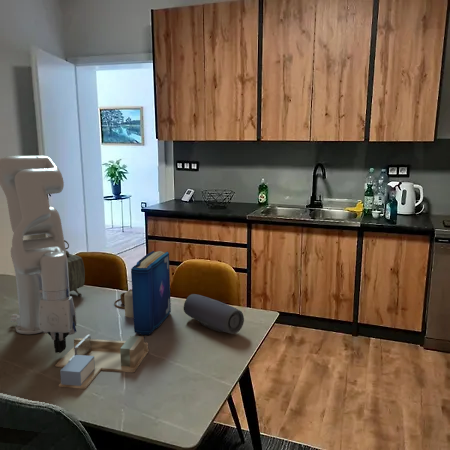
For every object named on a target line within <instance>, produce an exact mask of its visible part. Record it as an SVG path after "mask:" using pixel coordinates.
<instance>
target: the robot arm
mask: <svg viewBox="0 0 450 450" xmlns="http://www.w3.org/2000/svg"><path fill="white" fill-rule="evenodd" d="M64 183H65V182H64V177H63V175H62V172H61V170H60V169H59V167H58V166H57V165H56V163H55V161H53V160H52V158H51V157H49V156H48V155H41V154H39V155H36V154H35V155H9V156H3V157H0V188H1V189H2V191H3V194H4V195H5V198H6V201H7V202H6V203H7V208H8V215H9V220H10V226H11V227H10V228H11V230H12V232H13V235H12V239H11V248H10V257H11V261H12V264H13V268H14V274H15V281H16V283H15V284H16V291H17V302H18V313H19V314H17V313H12V314H11V316H10V322H13V323H15V322H16V323H17V324H16V325H15V331H16V332H17V334H21V335H34V334H40V333H44V334H48V336H49V337H51V340H52V341H53V347H54V351H55V353H57V354H61V353H63V351H64V350H66V348H67V343H66V342H67V341H66V340H67V337H68V336H70V335H75V334H76V333H77V328H76V327H77V313H76V308H75V303H74V299H73V296H71V294H70V293H71V292H70V291H69V276H68V261H67V256H66V251H67V249H65V248H66V242H64V240H65V238H64V231H63V226H62V219H61V216H60V213H59V211H58V209H57V208H55V207H53V206H50V203H49V198H48V195H53V194H60V193H62V191H63V190H64V186H65V184H64ZM44 234H46V235H47V236H46V237H45V236H44V237H39V238H38V237H37V238H31V239H30V238H29V239H24V237H26V236H36V235H44Z"/></svg>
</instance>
